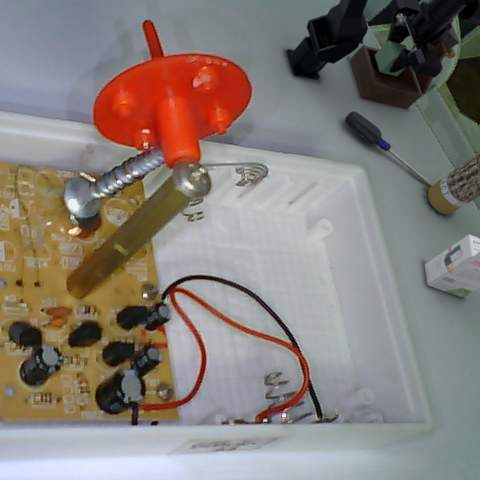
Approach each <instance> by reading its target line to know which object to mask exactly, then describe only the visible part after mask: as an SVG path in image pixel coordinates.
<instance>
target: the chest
mask: <svg viewBox="0 0 480 480" xmlns="http://www.w3.org/2000/svg"><path fill="white" fill-rule="evenodd" d="M380 49H381V48H380ZM380 49H379V48H376V47H372V46H369V45H364V44H362V46H361V47H359V49H358V50H357V51H356V52H355V53H354V54H353V55H352V56H351V57H350V58H349V63H350V66H351V69H352V70H351V71H352V73H353V77H354V80H355V83H356V87H357V89H358V92H359V93H358V94H359V96H360V99H362V100H366V101H371V102H375V103H379V104H383V105H387V106H392V107H396V108H400V109H404V110H408V109H409V108H410V107H411V106H412V105H413V104H414V103H416V102H417V101H418V100H419V99H420V98H421V97H422V96H423V94H422V93H421V90H420V87H419V85H418V82H417V79H416V76H415V73H414V71H413V70H412V67H411V66H409V67H406V68H405V69H404V70H403V71H402V72H401V73H400V74H399V75H398V76H394V75H390V74H386V73H382V72H380V70H379V67H378V64H377V61H376V58H375V54H376V53H377V52H378V51H379V50H380Z"/></svg>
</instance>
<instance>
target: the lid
mask: <svg viewBox="0 0 480 480" xmlns="http://www.w3.org/2000/svg"><path fill="white" fill-rule="evenodd" d="M427 46H428V48H429V49H430V50H431V51H432V52H435V53H438V55H439V58H440V61H441V63H442V62H443V60H444V58H446V57H447V58H448V59H453V58H454V57H456V52H455V48H454V47H452V48H450V49H449V50H447V49H446V46H445V44H444V41H441V42H439V43H438V44H437V45H436V46H433V45H431V43H428V44H427ZM414 48H415V45H414V44H413V46H412V47H411V50H412V49H413V50H414ZM414 74H415V77H416V80H417V83H418V86H419V89H420V91H421V94H422V95H426V93H427V91H428V89H429V87H430V85H431V83H432V81H433V80H434V77H430V76H427V75H423V74H419V73H415V72H414Z"/></svg>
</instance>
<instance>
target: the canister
mask: <svg viewBox="0 0 480 480" xmlns="http://www.w3.org/2000/svg"><path fill="white" fill-rule="evenodd" d="M432 184H433V185H432V186H431V187H430V186H429V188H428V190H427V198H428V202H429V203H430V205H431V207H432V208H433V209H434V210H435V211H437V212H438V213H440V214H442V215H450V214H453V213H454V212H456V211H457V210H459V209H460V208H462V207H464V206H466V205H468V204H469V203H470V202H471V203H472V201H475V200H476V199H477V198H478V197H480V152H478V153H477V154H475V155H474V156H472V157H471V158H470V159H468V160H467V161H465V162H464V163H462V164H461V165H459V166H458V167H456V168H455V169H453V170H452V171H450V172H449V173H447V174H446V175H445V176H443V177H442V178H440V179H439V180H437V181H436V182H434V183H432Z"/></svg>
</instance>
